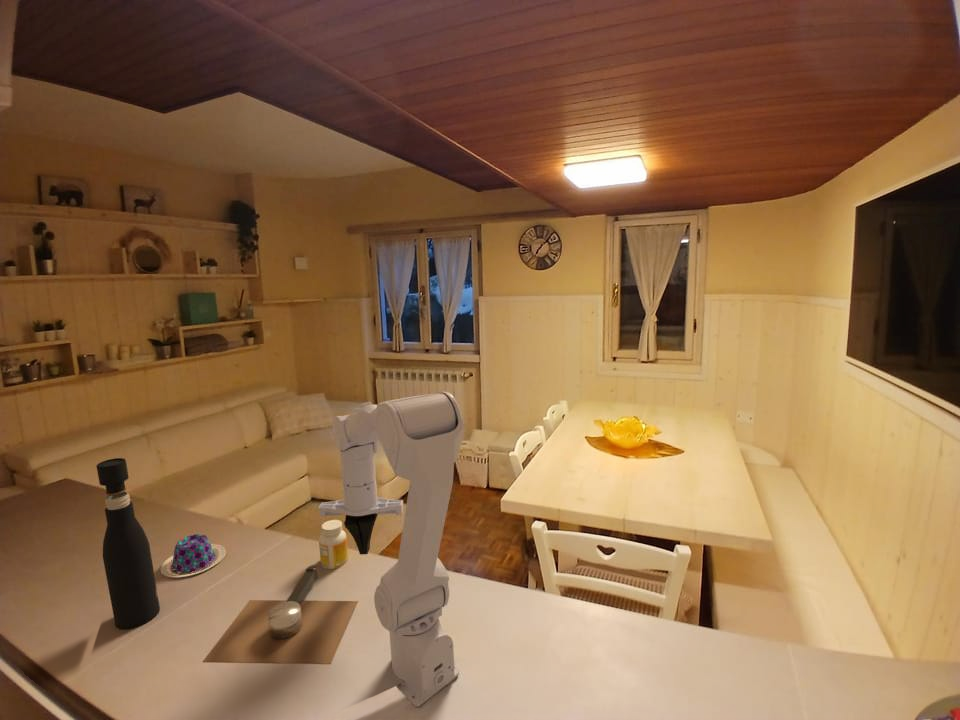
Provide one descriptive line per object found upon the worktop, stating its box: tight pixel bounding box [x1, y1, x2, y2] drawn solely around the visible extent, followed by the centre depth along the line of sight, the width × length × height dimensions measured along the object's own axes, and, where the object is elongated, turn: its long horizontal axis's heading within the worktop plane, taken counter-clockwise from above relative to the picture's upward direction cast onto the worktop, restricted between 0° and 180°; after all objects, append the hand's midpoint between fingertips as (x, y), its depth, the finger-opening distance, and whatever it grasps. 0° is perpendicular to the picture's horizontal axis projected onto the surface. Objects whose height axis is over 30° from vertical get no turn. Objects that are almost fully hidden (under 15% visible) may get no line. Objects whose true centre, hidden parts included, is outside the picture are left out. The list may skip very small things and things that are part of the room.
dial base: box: [202, 599, 359, 665], centre depth 80 cm, size 20×14×2 cm
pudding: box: [160, 533, 227, 578], centre depth 102 cm, size 12×12×5 cm
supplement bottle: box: [318, 519, 349, 570], centre depth 98 cm, size 5×5×10 cm
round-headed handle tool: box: [268, 565, 319, 639], centre depth 84 cm, size 15×5×3 cm, turn 178°
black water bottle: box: [96, 457, 161, 631], centre depth 81 cm, size 6×6×30 cm
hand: (364, 551), depth 86 cm, fingers closed
